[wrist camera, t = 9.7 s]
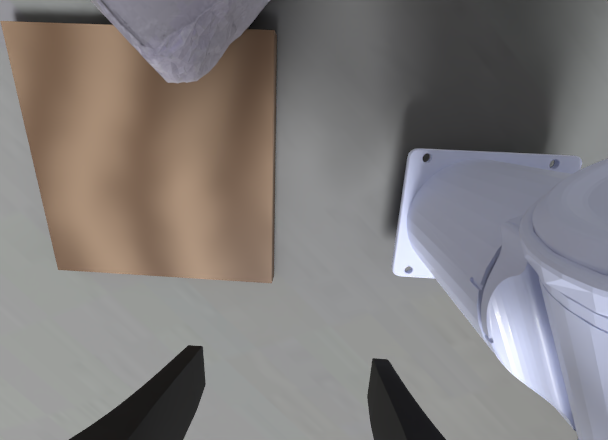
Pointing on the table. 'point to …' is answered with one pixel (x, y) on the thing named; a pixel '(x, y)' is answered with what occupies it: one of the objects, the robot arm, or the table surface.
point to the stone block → (181, 31)
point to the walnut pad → (150, 153)
